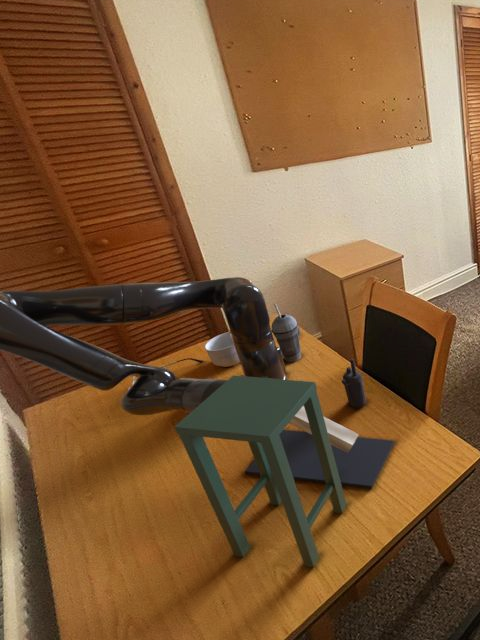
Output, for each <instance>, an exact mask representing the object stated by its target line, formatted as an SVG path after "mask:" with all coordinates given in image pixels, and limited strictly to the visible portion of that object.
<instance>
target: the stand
mask: <svg viewBox="0 0 480 640" xmlns="http://www.w3.org/2000/svg"><path fill="white" fill-rule="evenodd" d="M226 380H227V381H226V382H225V383H224V384H223V385H222V386H221V387H219V388H218V389H217V390H216V391H215V392H214V393H212V394H211V395H210V396H209V397H208V398H207V399H206V400H204V401H203V402H202V403H201V404H200V405H199V406H198V407H196V408H195V409H194V410H193V411H192V412H191V413H190V414H189V413H187V415H186V416H185V417H184V418H182V419H181V420H180V421H179V422H178V423H177V424H175V426H174V427H173V428H174V431H175V432H176V434H177V435H178V436H179V438H180V440H181V442H182V445H183V446H184V449H185V451H186V453H187V455H188V458H189V460H190V462H191V464H192V466H193V468H194V470H195V473H196V475H197V477H198V479H199V482H200V483H201V486H202V489H203V490H204V493H205V494H206V497H207V499H208V501H209V503H210V506H211V508H212V510H213V513H214V514H215V517H216V518H217V520H218V523H219V525H220V527H221V530H222V531H223V533H224V536H225V538H226V540H227V542H228V544H229V546H230V549H231V551H232V553H233V555H234V556H235V557H240V558H244V557H245V555H246V554H247V553H248V551H249V550H250V549H251V545H250V543H249V541H248V538H247V536H246V534H245V531H244V529H243V527H242V524H241V522H240V519H241V518H242V516H243V515H244V514H245V512H246V511H247V510H248V508H249V507H250V506H251V505H252V503H253V502H254V500H255V499H256V498H257V497H258V496H259V494H260V493H261V491H262V490H263V489H264V488H265V491H266V494H267V496H268V499H269V502H270V504H271V505H274V506H280V505H281V503H282V506H283V509H284V511H285V514H286V517H287V521H288V523H289V526H290V529H291V531H292V534H293V536H294V540H295V542H296V546H297V548H298V550H299V554H300V556H301V559H302V562H303V565H304V567H310V568H314V567H315V566H316V564H317V563H318V561H319V558H320V554H319V551H318V548H317V546H316V543H315V539H314V537H313V533H312V530H311V528H312V526H314V523H315V521H316V520H317V518H318V517H319V516H320V515H319V514H320V513H321V511H322V509H323V508H324V506H325V504H326V503H327V501H328V499H329V500H330V502H331V506H332V509H333V512H334V513H338V514H343V513H344V511H345V509H346V507H347V500H346V497H345V494H344V490H343V485H341V482H340V478H339V474H338V470H337V466H336V463H335V459H334V455H333V451H332V447H331V444H330V440H329V436H328V432H327V428H326V425H325V421H324V417H325V416H324V413H323V409H322V405H321V403H320V398H319V394H318V391H317V389H318V387H317V383H316V382H315V381H306V380H295V379H294V380H293V379H285V380H283V379H271V378H259V377H247V376H245V375H235V374H233V375H232V376H231V377H229V378H228V379H226ZM302 406H304V408H305V411H306V415H307V418H308V422H309V425H310V429H311V432H312V436H313V439H314V443H315V446H316V450H317V453H318V457H319V460H320V464H321V467H322V471H323V474H324V478H325V481H326V483H325V484H326V485H325V486H324V488H323V490H322V491H321V493H320V495H319V496H318V498H317V500H316V501H315V503H314V504H313V506H312V508H311V509H310V511H309V513H308V515H306V512H305V509H304V505H303V502H302V500H301V497H300V494H299V491H298V488H297V484H296V482H295V481H296V480H295V479H294V478H293V475H292V472H291V469H290V466H289V463H288V460H287V457H286V454H285V451H284V448H283V445H282V442H281V439H280V436H279V434H280V433H281V432H282V431H283V430H285V428H286V427H287V426H288V425H289V424H290V423H289V422H290V421H291V420H292V419H293V417H294V416H295V415H296V414H297V412H298V411H299V410H300V409H301V408H302ZM205 438H211V439H220V440H228V441H229V440H230V441H241V442H247V443H248V446H249V448H250V451H251V453H252V456H253V459H254V460H255V462H256V464H257V467H258V470H259V472H260V475H259V476H260V477H259V478H258V480H257V481H256V482H255V484H254V485H253V486H252V487H251V489H250V490H249V491H248V493H247V494H246V495H245V496H244V498H243V499H242V500H241V502H240V503H239V504H238V505H237V506H236V508H234V506H233V503H232V500H231V498H230V495H228V492H227V489H226V487H225V484H224V482H223V479H222V477H221V476H220V473H219V471H218V468H217V466H216V464H215V462H214V460H213V457H212V455H211V452H210V449H209V447H208V445H207V443H206V440H205Z"/></svg>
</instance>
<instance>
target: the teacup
mask: <svg viewBox="0 0 480 640" xmlns="http://www.w3.org/2000/svg"><path fill="white" fill-rule="evenodd" d="M204 350H205V351H206V353H207V355H208V358H209V359H210V361H211V363H212V364H213V365H215V366H217V367H224V368H227V367H233V366H236V365H237V364H239V363H240V361H239V358H238V355H237V352H236V349H235V347H234V344H233V341H232V338H231V335H230V331H227V332H224V333H221V334H218V335H216V336H214V337H213V338H211V339H210V340H208V341H207V342H206V343H205V345H204Z"/></svg>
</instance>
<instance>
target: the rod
mask: <svg viewBox="0 0 480 640" xmlns="http://www.w3.org/2000/svg"><path fill="white" fill-rule="evenodd" d="M323 417H324V421H325V425H326V428H327V432H328V436H329V440H330V444H331V445H333V446H335V447H337V448H339V449H341V450H343V451H345V452H347V453H349V451H350V449H351V448H352V446H353V444H354V443H355V441H356V439H357V437H360V436H359V433H358V432H355V431H353V430H351V429H349V428H347V427H345V426H344V425H342V424H339V423H337V422H335V421H333V420H331V419H329V418H328V417H325V416H323ZM288 424H289V425H292V426H293V427H296V428H298V429H300V430H301V431H302V432H307V433H309V434H311V435H312V432H311V429H310V425H309V422H308V418H307V415H306V411H305V408H304V405H303V406H302V408H301V409H300V410H299V411H298V412H297V414H296V415H295V416H294V417H293V419H292V420H291V421H290V422H289V423H288Z"/></svg>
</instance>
